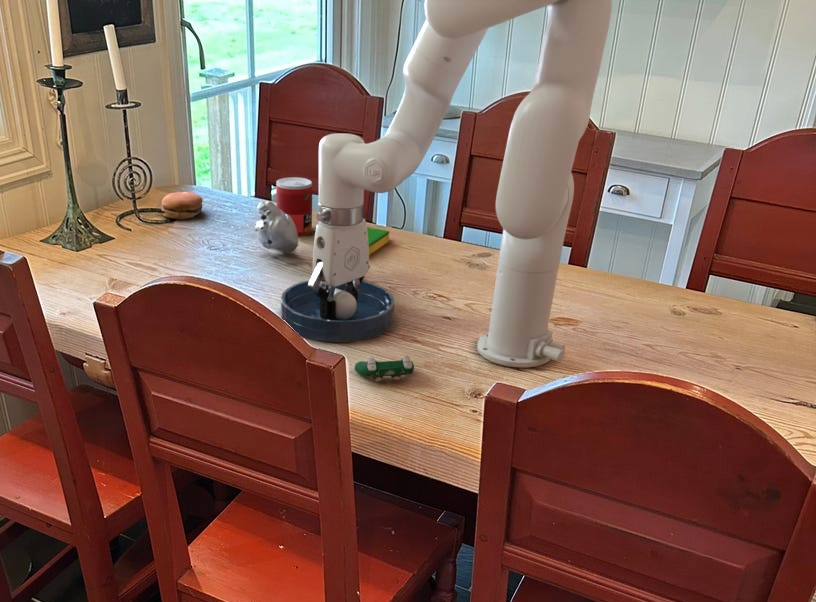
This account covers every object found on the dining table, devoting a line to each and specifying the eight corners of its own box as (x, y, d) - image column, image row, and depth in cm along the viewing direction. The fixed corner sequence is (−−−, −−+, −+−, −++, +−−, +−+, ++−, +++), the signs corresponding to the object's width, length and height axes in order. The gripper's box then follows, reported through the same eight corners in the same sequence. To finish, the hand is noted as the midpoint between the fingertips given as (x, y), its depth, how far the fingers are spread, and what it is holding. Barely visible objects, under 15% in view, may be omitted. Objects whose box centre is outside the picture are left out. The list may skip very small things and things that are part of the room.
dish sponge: (332, 254, 181) (333, 243, 180) (360, 236, 191) (361, 225, 190) (362, 260, 178) (363, 248, 177) (389, 241, 189) (390, 230, 187)
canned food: (311, 237, 190) (311, 186, 184) (275, 236, 190) (275, 185, 184) (312, 226, 196) (313, 177, 190) (278, 225, 196) (277, 176, 190)
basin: (416, 320, 153) (417, 299, 151) (339, 354, 141) (340, 332, 139) (335, 289, 164) (335, 269, 162) (258, 318, 152) (257, 297, 150)
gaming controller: (355, 387, 135) (362, 376, 129) (353, 364, 136) (359, 352, 130) (411, 384, 137) (420, 372, 131) (409, 361, 137) (417, 349, 131)
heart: (295, 266, 173) (298, 205, 168) (250, 261, 174) (252, 201, 169) (305, 258, 182) (308, 200, 177) (262, 254, 184) (264, 196, 179)
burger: (166, 221, 196) (164, 201, 194) (158, 210, 203) (156, 190, 201) (208, 218, 199) (207, 198, 197) (198, 207, 206) (197, 187, 204)
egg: (362, 318, 152) (363, 292, 149) (343, 326, 149) (344, 300, 146) (334, 308, 156) (334, 282, 153) (315, 315, 153) (315, 289, 150)
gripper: (321, 229, 135) (320, 335, 145) (390, 208, 145) (385, 308, 155) (288, 219, 139) (290, 322, 149) (358, 199, 149) (355, 297, 159)
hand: (338, 314), depth 152 cm, fingers closed on egg, 5 cm apart
